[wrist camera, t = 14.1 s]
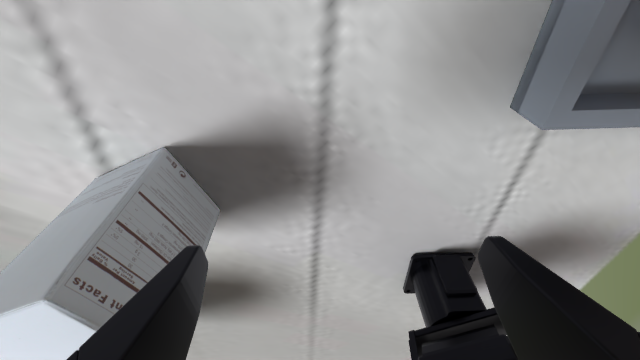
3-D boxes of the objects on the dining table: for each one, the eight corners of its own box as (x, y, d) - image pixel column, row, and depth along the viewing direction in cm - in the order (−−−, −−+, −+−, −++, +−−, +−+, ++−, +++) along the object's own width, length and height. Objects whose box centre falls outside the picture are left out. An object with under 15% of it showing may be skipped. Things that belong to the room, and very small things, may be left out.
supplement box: (158, 233, 27) (67, 392, 17) (93, 176, 23) (-79, 340, 13) (224, 210, 26) (166, 370, 15) (167, 143, 21) (36, 302, 11)
